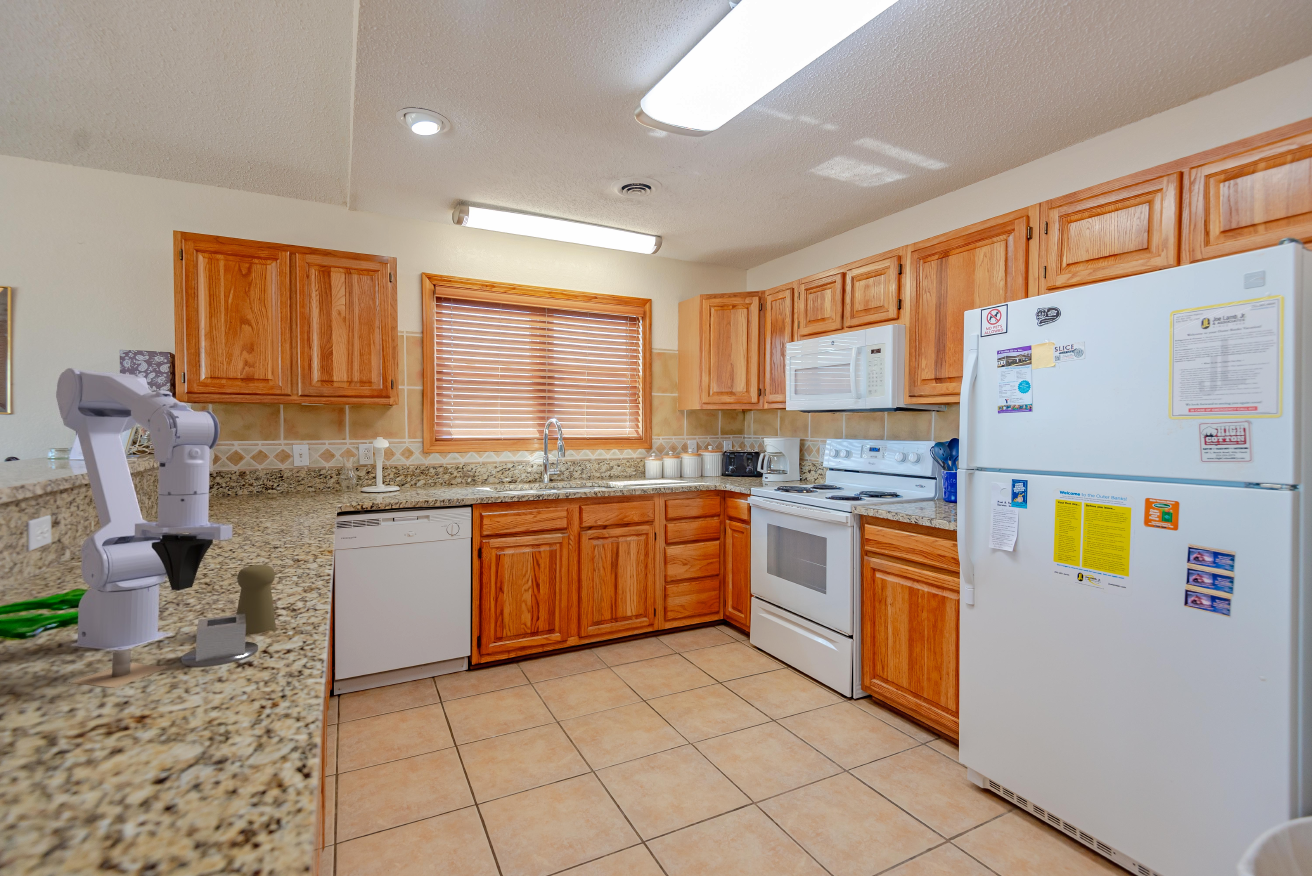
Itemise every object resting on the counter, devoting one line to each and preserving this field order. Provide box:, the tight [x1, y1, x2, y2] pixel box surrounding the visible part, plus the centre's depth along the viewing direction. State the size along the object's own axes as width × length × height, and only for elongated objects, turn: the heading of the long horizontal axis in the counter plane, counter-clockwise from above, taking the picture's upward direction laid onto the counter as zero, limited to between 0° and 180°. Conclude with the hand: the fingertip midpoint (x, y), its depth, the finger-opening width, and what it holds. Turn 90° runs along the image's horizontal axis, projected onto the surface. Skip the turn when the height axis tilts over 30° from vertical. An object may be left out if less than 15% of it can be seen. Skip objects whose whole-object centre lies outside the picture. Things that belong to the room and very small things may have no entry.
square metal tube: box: [195, 614, 246, 662], centre depth 86 cm, size 6×6×4 cm
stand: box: [69, 648, 170, 689], centre depth 79 cm, size 7×7×4 cm
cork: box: [235, 564, 277, 636], centre depth 98 cm, size 6×6×11 cm
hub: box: [180, 641, 259, 668], centre depth 86 cm, size 9×9×4 cm
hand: (182, 588), depth 85 cm, fingers closed
